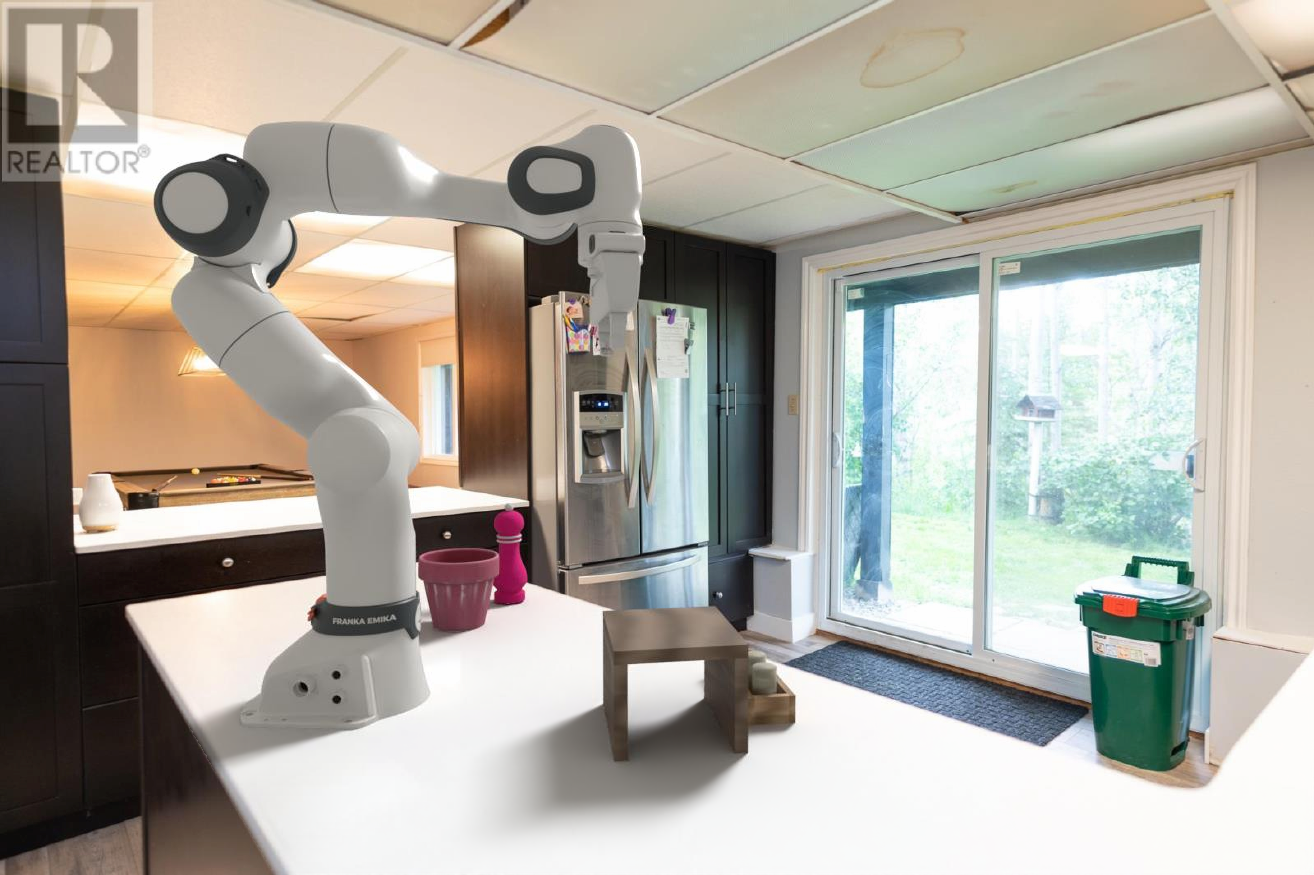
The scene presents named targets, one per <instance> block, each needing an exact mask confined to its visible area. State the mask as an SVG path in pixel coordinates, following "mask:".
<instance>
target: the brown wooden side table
mask: <svg viewBox="0 0 1314 875" xmlns="http://www.w3.org/2000/svg"><path fill="white" fill-rule="evenodd" d="M748 648H749V644H748V642H747V641H746V640H745V639H744V637H743V636H742V635H741V634H740V633H739V632H738V630H737V629H736V628H735V627H734V626H733V624H731V623H730V621H729V620H728V619H727V618H726V617H725V616H724V614H723V613H722V612H721V611H720V610H719V609H718V607H716V606H715V605H714V606H712V605H711V606H710V605H709V606H708V605H707V606H688V607H687V606H686V607H665V608H664V607H662V608H660V607H659V608H645V609H644V608H640V609H624V610H623V609H622V610H621V609H617V610H602V701H603V702H602V704H603V710H604V715H605V721H606V727H607V730H608V731H607V732H608V738H609V741H610V747H611V752H612V758H613V762H614V763H617V762H619V763H620V762H629V729H628V728H629V709H628V708H629V699H628V698H629V696H628V695H629V690H628V689H629V686H628V685H629V681H628V678H629V676H628V675H629V673H628V671H629V670H628V667H629V665H642V664H659V663H661V664H663V663H674V662H675V663H679V662H694V661H695V662H697V661H703V699H704V700H705V702H706V704H707V706H708V708H709V710H710V712H711V714H712V715H713V717H714V719H715V721H716V722H717V724H718V726H719V728H720V729H721V731H722V732H723V735H724V737H725V738H726V741H727V742H728V744H729V745H730V747H731V749H732V751H733V752H734V754H735V755H736V754H739V755H740V754H748V753H749V725H748Z"/></svg>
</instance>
